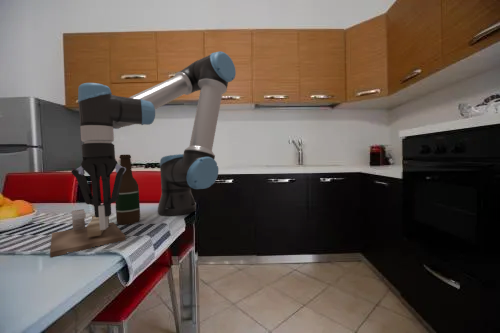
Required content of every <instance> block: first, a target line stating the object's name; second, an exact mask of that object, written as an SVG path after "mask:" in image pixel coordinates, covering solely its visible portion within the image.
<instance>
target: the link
mask: <svg viewBox="0 0 500 333" xmlns="http://www.w3.org/2000/svg"><path fill="white" fill-rule="evenodd" d="M91 217H92V218H91V220H90V222H88V224H87V226H86V227H87V231H88V237H92V236H99V235H101V234H102V232H103V230H100V225H99V217H95V214H94V215H92V216H91ZM109 218H110V216H108V224H109V223H110V219H109Z"/></svg>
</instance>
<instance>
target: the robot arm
mask: <svg viewBox="0 0 500 333" xmlns="http://www.w3.org/2000/svg"><path fill="white" fill-rule="evenodd" d="M236 73H237V69H236V66H235V64H234V62H233V59H232V58H231V57H230V55H229V54H227V53H225V52H224V51H216V52H212V53H210V54H209V55H207V56H204V57H202V58H200V59H197V60H196V61H194V62H192V63H190V64H189V65H188V66H186V67H184V69H182V70H179V71H177V72H175V74H174V76H173V77H171V78H168V79H166V80H164V81H162V82H160V83H158V84H155V85H153V86H151V87H149V88H147V89H144V90H142V91H140V92H138V93H136V94H134V95H131V96H129V97H125V96H119V95H114V94H112V93H113V92H112V91H111V88H110V87H109V86H108V85H105V84H102V83H98V82H97V83H96V82H85V83H81V84H80V85H78V87H77V88H78V89H77V90H78V91H77V92H78V94H77V96H78V97H77V103H78V113H79V122H80V123H79V125H80V141H81V142H83V143H82V144H81V157H82V162H81V163H80V166H79V167H77V168H76V169H72V170H71V174H72V176H74V177H75V178H76V180H77V184H78V186H79V189H80V191H81V195H82V197H83V199H84V203H85V204H86V205H92V206H93V208H94V215H95V217H99V225H100V230H105V229H106V228H108V216H109V217H110V216H111V215H112V203H116V202H115V201H117V200H118V197H119V192H120V187H121V182H122V177H123V174H124V173H125V171H126V170H127V169H126V167H122V166H120V164H118V161H117V160H116V151H115V149H116V148H115V144H114V143H113V142H114V140H115V137H114V136H115V135H114V129H116V130H119V129H121V128H125V127H129V126H133V125H141V126H143V125H149V126H150V125H151V124H153V123H154V121H155V118H156V110H157V109H159V108H161V107H162V106H165V105H167V104H168V103H170V102H172V101H174V100H177V98H179V97H182V96H183V95H185V96H186V95H187V96H188V95H190V94H192V93H194V92H199V96H198V101H197V106H196V112H195V117H194V121H193V126H192V131H191V135H190V140H189V141H190V142H189V146H188V147H186V148H185V149H184V150H183V153H182V154H180V153H179V154H178V153H177V154H170V155H164V156H163V157H161V158H160V161H159V162H160V163H159V169H160V170H159V172H160V185H161V195H160V199H159V202H158V205H157V214H158V215H160V216H167V217H168V216H171V217H172V216H182V215H187V214H191V213H193V212H195V211H197V204H196V201H195V199H194V196H193V193H192V189H194V190H203V189H208V188H210V187H211V186H213V185H214V184H215V182H216V180H217V179H218V176H219V166H218V163H217V161H216V160H215V158H216V157H215V156H216V155H215V154H214V152H213V148H214V142H215V141H214V140H215V136H216V129H217V124H218V119H219V114H220V108H221V101H222V98H223V97H222V96H223V95H224V94H225V93H226V92H228V91H227V90H228V85H229V83H230V82H232V81H233V80H234V79H235V77H236V75H237V74H236ZM114 170H115V173H116V174H115V177H114V178H115V179H114V183H113V188H112V193H111V175H112V174H113V172H114ZM86 173H87V174H88V175H89V177H90V182H91V188H90V185H89V183H88V180H87V177H86V176H85V174H86ZM101 183H102V184H101ZM101 185H102V187H101ZM101 188H102V194H101ZM101 196H102V197H101ZM102 200H103V201H102Z"/></svg>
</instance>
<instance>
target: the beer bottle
mask: <svg viewBox="0 0 500 333" xmlns="http://www.w3.org/2000/svg"><path fill="white" fill-rule="evenodd" d="M118 158H119V163H120V164H119V165H120V166H122V167H126V169H127V170H126V171H125V173H124V174H123V177H122V182H121V187H120V192H119V197H118V200H117V201H115V202H114V203H115V214H116V216H115V218H116V224H117V225H119V226H120V225H121V226H128V225H133V224H137V223H139V222H140V221H141V207H140V206H141V204H140V189H139V184H138V182H137V180H136V179H135V178H134V175H133V170H132V162H131V161H132V160H131V158H132V156H131V154H120V155H119V157H118Z"/></svg>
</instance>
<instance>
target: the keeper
mask: <svg viewBox="0 0 500 333" xmlns="http://www.w3.org/2000/svg"><path fill="white" fill-rule="evenodd" d="M86 216H87V215H86V212H85V209H77V210H76V209H75V210H71V218H72V229H73V231H74V230H79V229H85V227H86V221H85V219H87V218H86ZM108 227H110V224H108Z"/></svg>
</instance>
